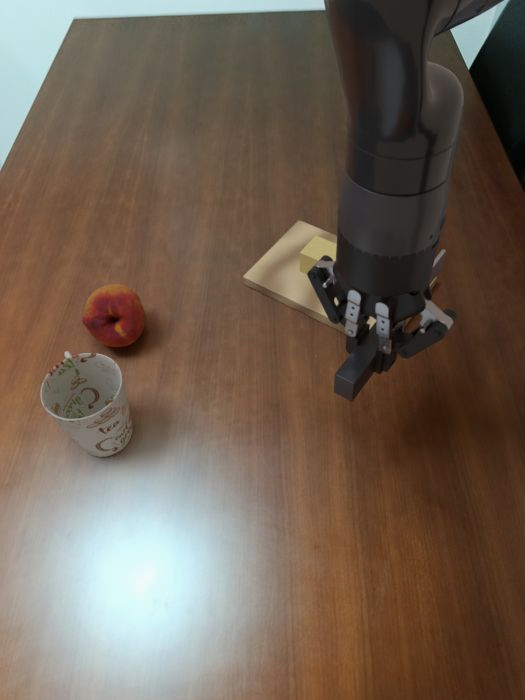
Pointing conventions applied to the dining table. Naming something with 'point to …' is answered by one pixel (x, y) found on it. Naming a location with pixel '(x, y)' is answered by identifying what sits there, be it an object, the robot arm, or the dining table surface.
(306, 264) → the butter
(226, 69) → the dining table surface
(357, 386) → the screwdriver
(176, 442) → the dining table surface
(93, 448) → the mug
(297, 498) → the dining table surface
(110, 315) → the fruit
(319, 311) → the board
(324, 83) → the dining table surface
